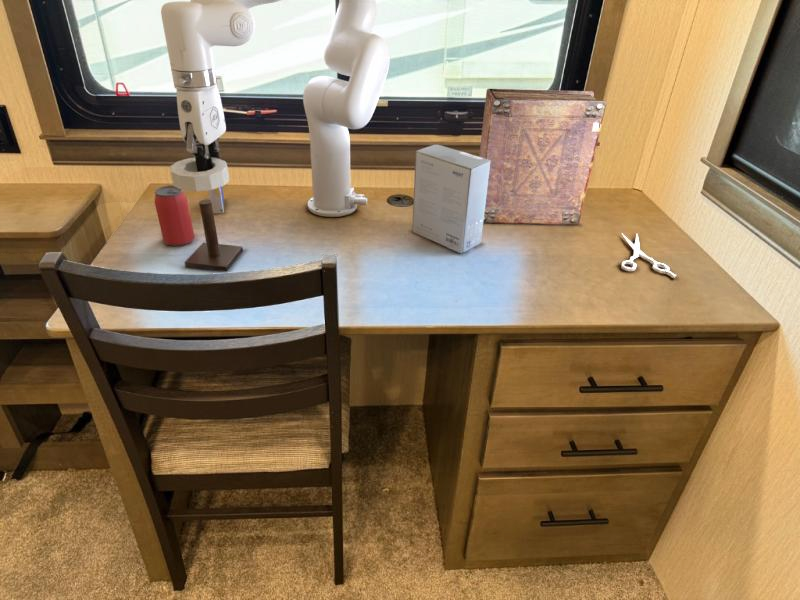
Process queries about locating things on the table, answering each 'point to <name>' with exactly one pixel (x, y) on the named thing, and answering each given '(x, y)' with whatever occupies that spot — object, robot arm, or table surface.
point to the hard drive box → (450, 196)
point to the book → (539, 154)
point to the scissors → (641, 254)
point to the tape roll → (199, 175)
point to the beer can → (173, 216)
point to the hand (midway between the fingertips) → (209, 172)
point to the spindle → (212, 245)
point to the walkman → (217, 199)
